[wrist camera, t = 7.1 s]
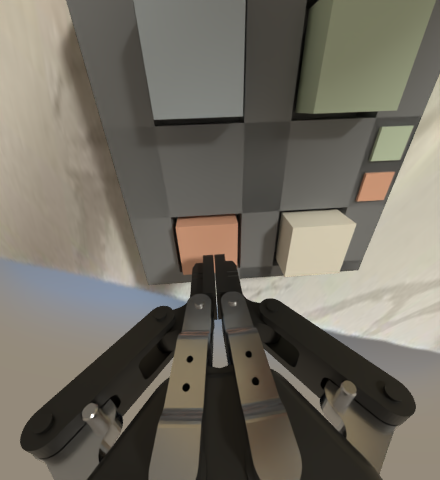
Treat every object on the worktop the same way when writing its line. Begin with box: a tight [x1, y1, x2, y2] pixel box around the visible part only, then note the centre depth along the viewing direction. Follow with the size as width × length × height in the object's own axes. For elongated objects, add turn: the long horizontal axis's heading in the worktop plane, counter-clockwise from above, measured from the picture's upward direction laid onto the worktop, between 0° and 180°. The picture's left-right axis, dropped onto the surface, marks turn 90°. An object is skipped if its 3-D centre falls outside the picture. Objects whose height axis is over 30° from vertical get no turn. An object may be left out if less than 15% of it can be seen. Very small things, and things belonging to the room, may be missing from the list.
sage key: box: [295, 0, 436, 114], centre depth 11 cm, size 4×4×2 cm
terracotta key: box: [176, 214, 238, 275], centre depth 17 cm, size 4×4×2 cm
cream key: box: [275, 209, 356, 277], centre depth 17 cm, size 4×4×2 cm
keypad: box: [66, 0, 440, 285], centre depth 15 cm, size 19×19×3 cm
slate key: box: [133, 0, 246, 120], centre depth 10 cm, size 4×4×2 cm
